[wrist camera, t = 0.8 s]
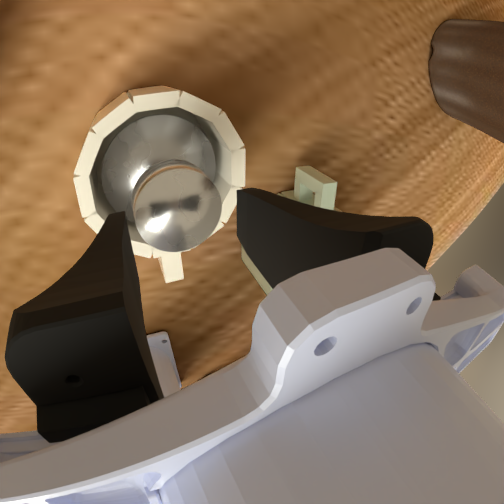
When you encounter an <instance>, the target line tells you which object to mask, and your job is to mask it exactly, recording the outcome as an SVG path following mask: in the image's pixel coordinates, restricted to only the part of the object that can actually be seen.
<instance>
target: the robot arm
mask: <svg viewBox="0 0 504 504" xmlns="http://www.w3.org/2000/svg"><path fill="white" fill-rule="evenodd" d="M237 236H238V238H239V240H240V243H241V245H242V246H243V248H244V250H245V252H246V254H247V255H248V257H249V258H250V259H251V261H252V262H253V264H254V265H255V266H256V268H257V269H258V270H259V272H260V273H261V274H262V276H263V277H264V278H265V280H266V281H267V282H268V283H269V285H270V286H271V287H272V289H273V290H272V291H271V292H270V293H269V294H268V295H267V296H266V297H265V298H264V299H263V300H262V301H261V303H260V304H259V307H258V310H257V313H256V316H255V318H254V321H253V324H252V345H251V350H250V352H249V353H248V354H247V355H246V356H244V357H242V358H240V359H238V360H237V361H235V362H233V363H231V364H229V365H227V366H226V367H224V368H222V369H220V370H218V371H216V372H214V373H212V374H211V375H209V376H207V377H205V378H203V379H201V380H199V381H197V382H195V383H193V384H191V385H189V386H187V387H185V388H183V389H181V390H180V388H181V387H182V385H181V381H180V378H179V374H178V371H177V367H176V363H175V359H174V356H173V352H172V348H171V344H170V340H169V336H168V334H167V332H158V333H154V334H150V335H146V331H145V326H144V319H143V311H142V303H141V294H140V284H139V277H138V272H137V267H136V263H135V258H134V253H133V248H132V244H131V239H130V234H129V229H128V224H127V219H126V213H125V211H121V212H117V213H112V214H109V215H108V217H107V218H106V220H105V222H104V224H103V225H102V227H101V229H100V231H99V232H98V234H97V236H96V237H95V239H94V241H93V242H92V244H91V245H90V246H89V248H88V249H87V251H86V252H85V253H84V254H83V256H82V257H81V258H80V259H79V260H78V261H77V263H76V264H75V265H74V266H73V267H72V268H71V269H70V270H69V271H68V272H66V273H65V274H64V275H63V276H62V277H61V278H60V279H59V280H58V281H57V282H55V283H54V284H53V285H52V286H50V287H49V288H48V289H46V290H45V291H44V292H42V293H41V294H40V295H38V296H37V297H35V298H33V299H32V300H30V301H28V302H27V303H25V304H23V305H22V306H20V307H19V308H17V309H15V310H14V311H13V314H12V318H11V322H10V326H9V332H8V338H7V345H6V351H5V361H6V365H7V368H8V370H9V372H10V373H11V375H12V377H13V378H14V379H15V381H16V382H17V383H18V384H19V386H20V387H21V388H22V389H23V390H24V392H25V393H26V394H27V395H28V396H29V398H30V399H31V400H32V401H33V402H34V403H35V404H36V406H37V431H28V432H17V433H5V434H0V504H504V423H503V422H502V421H501V420H500V419H499V417H498V416H497V415H496V414H495V413H494V412H493V411H492V409H491V408H490V407H489V406H488V405H487V404H486V403H485V402H484V401H483V399H482V398H481V397H480V396H479V395H478V394H477V393H476V392H475V391H474V390H473V388H472V387H471V386H470V385H469V384H468V383H467V382H466V381H465V380H464V379H463V378H462V377H461V375H460V374H459V373H460V372H461V371H462V370H463V369H464V368H465V367H466V366H467V365H468V364H469V363H470V362H471V361H472V360H473V359H474V358H475V357H476V356H478V355H479V354H480V353H481V352H482V351H483V350H484V349H485V348H486V347H487V346H488V345H489V344H490V343H491V341H492V340H493V338H494V337H495V335H496V333H497V332H498V331H499V329H500V327H501V326H502V324H503V323H504V286H502V285H501V284H500V283H499V282H497V281H496V280H495V279H494V278H493V277H491V276H490V275H489V274H488V273H486V272H485V271H484V270H482V269H481V268H480V267H479V266H477V265H474V266H472V267H470V268H468V269H466V270H464V271H463V272H462V273H461V274H460V275H459V277H458V279H457V281H456V283H455V286H454V290H452V291H450V292H448V293H446V294H445V295H443V296H441V297H439V296H438V295H437V294H436V293H435V281H434V279H433V277H432V275H431V274H430V273H429V272H428V271H427V270H425V267H426V264H427V262H428V259H429V256H430V253H431V250H432V246H433V231H432V228H431V227H430V225H429V224H428V223H426V222H425V221H423V220H422V219H420V218H418V217H384V216H369V215H359V214H352V213H345V212H339V211H334V210H329V209H324V208H320V207H316V206H312V205H309V204H305V203H302V202H299V201H295V200H292V199H289V198H286V197H283V196H280V195H277V194H274V193H271V192H268V191H264V190H261V189H256V188H246V189H240V190H237Z"/></svg>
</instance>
